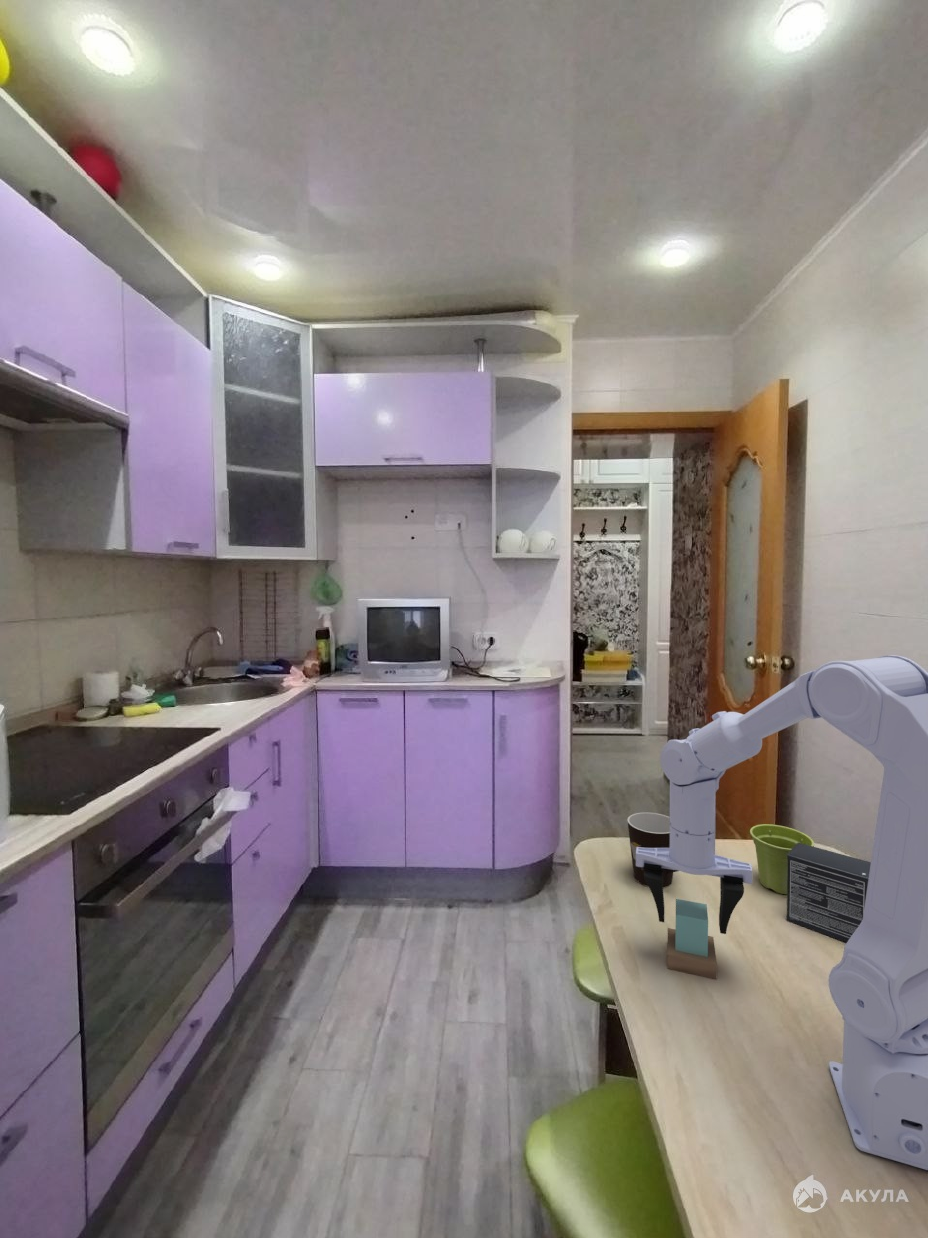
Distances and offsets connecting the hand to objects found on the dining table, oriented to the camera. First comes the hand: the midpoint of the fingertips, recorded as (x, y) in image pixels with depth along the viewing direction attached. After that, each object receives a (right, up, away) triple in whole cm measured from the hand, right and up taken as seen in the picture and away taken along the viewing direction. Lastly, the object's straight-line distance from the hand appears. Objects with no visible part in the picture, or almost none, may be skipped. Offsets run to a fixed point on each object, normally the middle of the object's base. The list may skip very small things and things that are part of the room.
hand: (691, 923), depth 74 cm
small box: (+24, -5, +7) cm, 25 cm away
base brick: (0, -5, 0) cm, 5 cm away
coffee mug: (+2, -4, +20) cm, 20 cm away
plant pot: (+23, -4, +18) cm, 30 cm away
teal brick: (0, -3, 0) cm, 3 cm away
